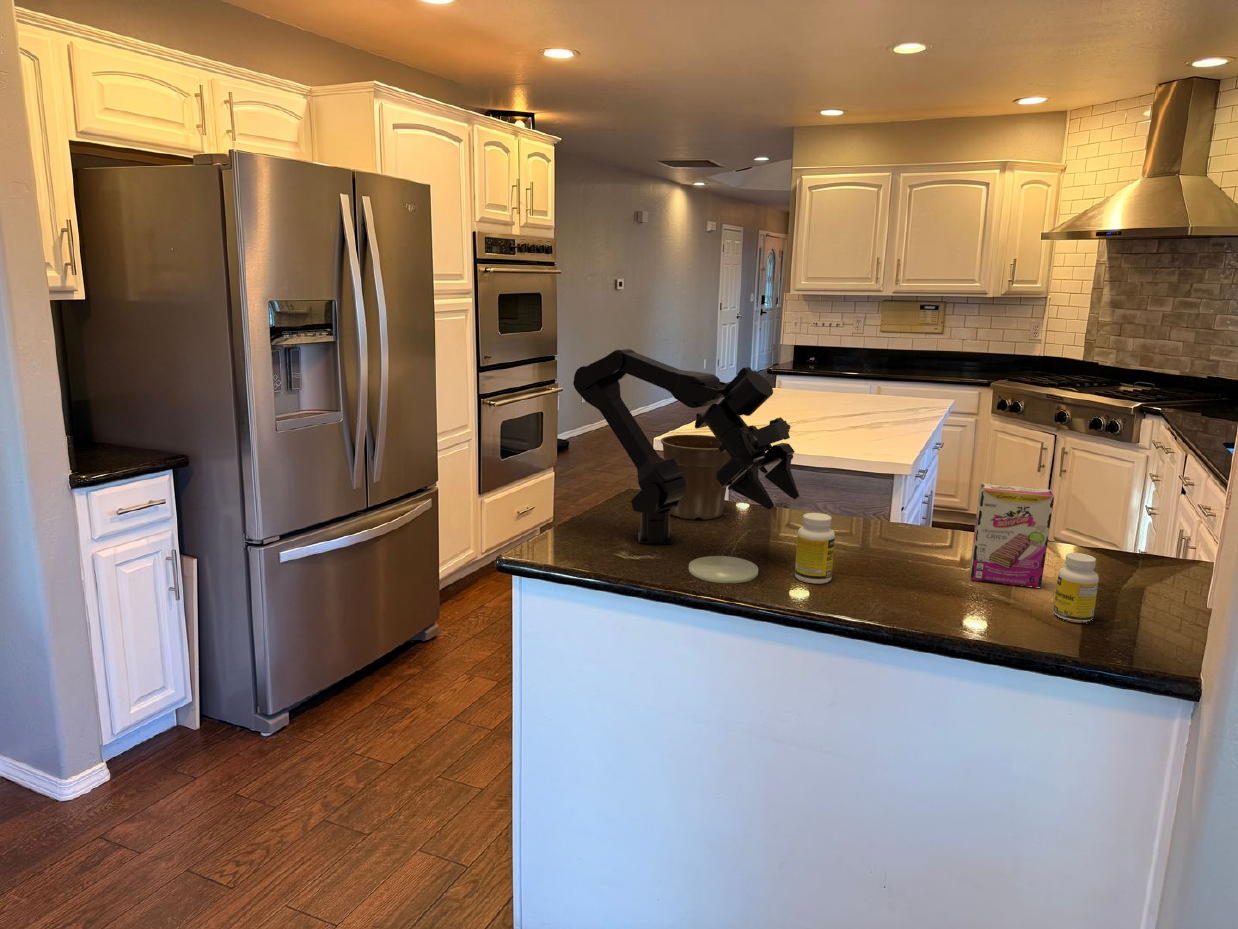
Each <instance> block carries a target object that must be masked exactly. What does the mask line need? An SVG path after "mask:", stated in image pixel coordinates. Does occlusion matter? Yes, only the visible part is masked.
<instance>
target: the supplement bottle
mask: <svg viewBox="0 0 1238 929" xmlns="http://www.w3.org/2000/svg"><path fill="white" fill-rule="evenodd" d="M1096 562H1097V558H1096V557H1094V556H1092V555H1089V554H1086V553H1081V552H1080V553H1079V552H1069V553H1067V554H1066V555H1065V560H1064V564H1065V566H1063V567H1061V568H1060V569H1059V570H1058V574H1057V581H1056V582H1057V584H1056V589H1055V596H1054V604H1053V614H1054V613H1055V615H1057V616H1058V617H1060V618H1063V619H1068V620H1074V621H1083V622H1087V621H1090V620H1092V619H1093V620H1094V616H1095V610H1096V603H1097V594H1098V588H1099V587H1098V586H1099V579H1100V578H1099V574H1098V573H1097V572H1095V571H1094V569H1095V568H1096V564H1097V563H1096ZM1055 615H1054V616H1055ZM1093 620H1092V621H1093Z"/></svg>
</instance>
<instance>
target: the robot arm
mask: <svg viewBox="0 0 1238 929" xmlns="http://www.w3.org/2000/svg"><path fill="white" fill-rule="evenodd" d="M626 375H629V376H632V377H634V378H637V379H639V380H642V381H644V382H647V383H649V384H652V385H654V386H656V387H659V388H661V389H664V390H665V391H667V392H669V393H670V394H671V396H673V398H674V399H675V400H677V401H678V402H680V403H681V404H683V405H684V406H686V407H687V408H690V409H698V408H702V407H707V409H706V410H705V411H704V412H702V411H701V412H698V413H696V415H695V416H696V417H695V424H694V428H695V429H702V428H707V427H708V429H709V430H710V431H711V433H712V434H713V436H715V437H716V438H717V439H718V441H719V442H720V444H721V446H720V447H719V448H718V449H719V450H720V451H721V453H723V452H727V453H728V454H729V456H730V457H731V459H730V460H729V461H728V462H727V463H726V464H725V465H723V466H722V467H721V468H720V469H719V470H718V471H717V472H716V480H717V482H718V483H719V484H720V486H721V487H722V488H724V487H726V488H727V489H728V490H729V491H732V492H735V493H737V494H739V495H741V496H743V497H745V498H747V499H749V500H751V501H753V502H754V503H757V504H758V505H759V506H762V507H764V508H765V509H767V510H769V511H770V510H772V509H773V508H774V507H775V504H774V502H773V500H772V498H771V497H770V495H769V493H768V491H767V490H766V488H765V486H764V485H763V483H762V482H761V480H760V478H759V471H760V472H761V473H763V474H765V475H764V478H765V479H766V480H768V481H770V483H772V484H773V485H775V487H777V488H778V489H780V490H781V491H782V492H784V494H786V495H788V496H789V497H790V498H791V499H792V500H797V499H798V498H800V493H799V491H798V488H797V484H796V482H795V480H794V476H793V474H792V470H791V464H792V460H793V459H794V454H795V452H796V451H795V449H793V447H792V446H791V445H790V443H786V442H781V443H777V442H780V441H783V440H784V441H785V440H789V439H790V438H791V436H790V430H791V425H790V424H788V423H787V420H784V419H783V417H777V418H775V419H771V420H769V424H768V425H766V426H765V425H764V426H762V427H761V428H757V426H755V425H753V424H752V425H748V424H747V423H746V422H745V421H744V419H743V418H742V416H746V417H750V416H751V415H753V414H754V413H755V412H757V410H758V409H759V408H760V407H761V406H763V404H764V403H766V401H768V400H769V399H770V398H771V396H773V394H774V389H773V387H772V385H771V383H770V381H768V380H767V378H764V377H763V376H762V375H761V374H760V373H758V372H757V371H754V370H752V368H751V367H750V366H747V367H746V366H745V367H742V368H741V369H740V370H739V372H738V373H737V374H736V376H735V377H734V378H732V380H731V381H730V382H729V383H728V382H724V381H721V380H720V378H719V377H718V376H717V375H715V374H712V373H708V372H707V373H705V372H700V371H692V370H683V369H679V368H676V367H675V366H674V367H673V366H671V365H669V364H666V363H663V362H661V361H658V360H655V359H653V358H650V357H649V356H645V355H643V354H640V353H637V352H636V351H635V350H633V349H631V348H627V349H626V348H625V349H615V350H613V351H612V352H611V353H609V354H607V355H606V356H605V357H602V358H600V359H598V360H595V361H594V362H592V363H590V364H587V365H582V366H580V367H579V368H577V370H576V371H575V373H574V376H573V381H572V384H573V387H574V390H575V391H576V392H577V393H578V394H579V396H580V397H581V398H582V399H583V400H584V401H585V402H586V404H589V405H590V406H592V407H594V408H595V409H597V410H598V411H599V412H600V414H601V415H602V416H603V418H604V419H605V421H606V423H607V424H608V425H609V426H608V427H610V430H612V433H613V434H614V435H615V436H616V439H617V440H618V441H619V443H620V445H621V446H622V448H623V449H624V451H625V452H626V454H627V455H628V457H629V459H630V460H631V462H632V463H633V465H634V467H635V468H636V471H637V482H638V483H637V484H638V486H639V488H640V491H639V492H638V493H637V494H636V495H635V496H634V497H633V498H632V499H631V501H630V502H631V506H632V509H633V510H632V511H634V512H637V513H640V531H638V532H637V540H638V544H649V545H650V544H652V545H653V544H654V545H655V544H658V545H659V544H660V545H661V544H662V545H664V544H665V545H667V544H668V545H672V544H673V536H672V533H671V514H670V508H673V507H677V506H678V504H679V501H680V499H681V498H682V497H683V496H684V494H685V491H686V486H687V485H686V481H685V479H684V477H683V476H685V474H684V473H683V472H682V471H681V470H680V469H679V467H678V465H677V463H676V461H675V460H674V459H673V458H671V459H668V460H665V459H664V458H662V457H661V456H660V455H659V454H658V452H657V451H656V449H655V448H654V446H653V445H652V444H651V442H650V440H649V439H648V437H647V436H646V434H645V433H644V431H643V429H642V428H641V426H640V425H639V424H638V421H637V420H636V419H635V417H634V416H633V415H632V413H631V411H630V410H629V408H628V407H627V405H626V404H625V402H624V401H623V399H622V397H621V385H620V382H619V381H621V380H622V379H623V378H625V377H626ZM720 399H722V400H720ZM719 401H720V402H719ZM708 406H709V407H708ZM775 443H777V444H775ZM772 444H774V445H772Z"/></svg>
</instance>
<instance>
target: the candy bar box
mask: <svg viewBox="0 0 1238 929" xmlns="http://www.w3.org/2000/svg"><path fill="white" fill-rule="evenodd" d="M979 485H980V486H979V491H978V499H977V500H978V502H977V507H976V515H975V522H974V523H975V524H974V532H973V541H972V549H971V555H970V556H971V557H970V564H969V575H970V580H971V581H977V582H982V583H983V582H985V583H990V582H992V584H998V583H1005V584H1004V585H1006V584H1013V585H1012V586H1014V585H1023V586H1032V587H1041V588H1042V584H1043V583H1042V582H1043V575H1044V568H1045V562H1046V554H1047V549H1048V543H1049V534H1050V528H1051V521H1052V513H1053V509H1054V500H1055V494H1053V493H1052V490H1051V489H1047V488H1046V489H1045V488H1035V487H1025V486H1015V485H1007V484H1006V485H1004V484H994V483H986V482H984V483H983V482H982V483H980V484H979Z"/></svg>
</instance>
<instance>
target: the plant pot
mask: <svg viewBox="0 0 1238 929" xmlns="http://www.w3.org/2000/svg"><path fill="white" fill-rule="evenodd" d="M660 442H661V445H662V452H663V453H662V454H663V456H662V457H663V459H664V460H668V459H671V458H673V459H674V460H675V461H676V463H677V465H678V467H679V469H680V470H681V471H682V472H683V473H684V474H685V476H683V477H684V479H685V481H686V485H687V486H686V491H685V494H684V496H683V497H682V498H681V499H680V501H679V504H678V506H677V507H673V508H670V516H674V517H676V516H677V517H676V518H679V517H680V519H688V520H696V519H697V518H700V519H701V520H703V521H704V520H714V519H716V518H719V517H721V516H722V515H723V513H724V505H725V499H726V494H727V493H726V491H727V487H724V488H722V487H721V486H720V484H719V483H718V482H717V480H716V472H717V471H718V470H719V469H720V468H721V467H722V466H723V465H725V464H726V463H727V462H728V461H729V460H730V459H731V457H730V456H729V454H728V453H727V452H723V453H721V451H720V450H719V449H718V448H719V447H720V446H721V444H720V442H719V441H718V439H717V438H716V437H715V435H707V434H674V435H668V436H664V437H662V438H660ZM713 518H714V519H713Z"/></svg>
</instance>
